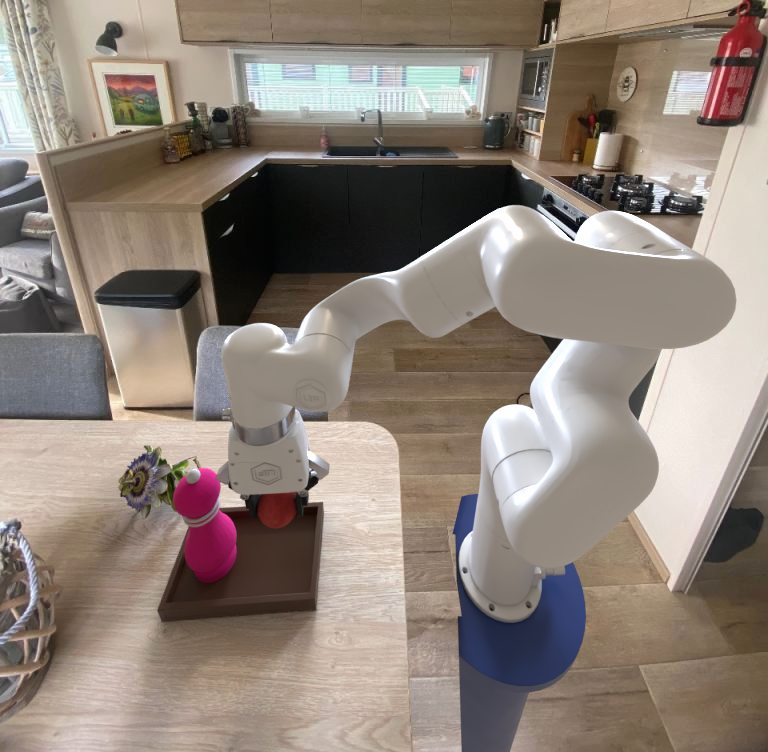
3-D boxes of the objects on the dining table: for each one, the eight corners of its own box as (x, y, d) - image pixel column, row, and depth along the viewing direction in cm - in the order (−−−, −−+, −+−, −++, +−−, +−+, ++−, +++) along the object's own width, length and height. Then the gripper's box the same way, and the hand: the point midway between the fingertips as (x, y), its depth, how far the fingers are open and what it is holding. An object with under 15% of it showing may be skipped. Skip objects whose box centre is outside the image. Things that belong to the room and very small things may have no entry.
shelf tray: (323, 512, 68) (323, 501, 67) (316, 610, 56) (315, 598, 55) (198, 520, 67) (194, 509, 66) (161, 622, 54) (156, 610, 53)
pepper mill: (230, 587, 57) (207, 498, 50) (181, 588, 57) (150, 498, 50) (246, 534, 64) (228, 448, 56) (202, 534, 64) (178, 448, 56)
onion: (253, 537, 56) (246, 500, 52) (269, 497, 61) (264, 462, 58) (292, 543, 55) (287, 507, 52) (305, 503, 60) (301, 467, 57)
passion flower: (147, 529, 71) (97, 488, 68) (193, 471, 79) (150, 432, 76) (171, 536, 64) (116, 491, 61) (218, 472, 72) (172, 429, 69)
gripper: (184, 444, 46) (209, 539, 53) (331, 437, 47) (336, 531, 54) (206, 396, 53) (226, 485, 60) (334, 390, 54) (339, 479, 61)
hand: (278, 506), depth 57 cm, fingers closed on onion, 5 cm apart
